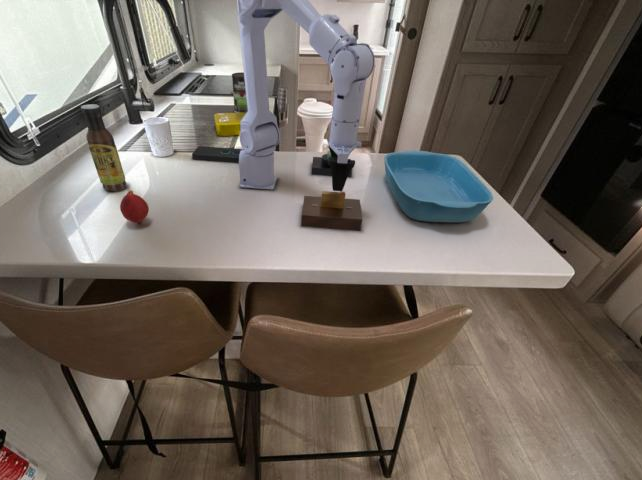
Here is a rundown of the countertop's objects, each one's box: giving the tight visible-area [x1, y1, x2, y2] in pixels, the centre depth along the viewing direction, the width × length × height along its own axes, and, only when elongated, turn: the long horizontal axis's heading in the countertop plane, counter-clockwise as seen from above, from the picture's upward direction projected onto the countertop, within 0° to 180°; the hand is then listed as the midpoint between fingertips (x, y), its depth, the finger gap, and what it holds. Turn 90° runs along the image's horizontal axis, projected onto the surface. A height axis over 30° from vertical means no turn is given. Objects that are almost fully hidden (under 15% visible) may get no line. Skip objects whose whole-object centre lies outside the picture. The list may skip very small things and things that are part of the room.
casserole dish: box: [384, 150, 494, 223], centre depth 89 cm, size 37×22×7 cm, turn 179°
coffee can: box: [231, 71, 248, 113], centre depth 145 cm, size 10×10×14 cm
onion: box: [119, 189, 150, 224], centre depth 75 cm, size 6×6×8 cm
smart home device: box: [191, 145, 244, 164], centre depth 109 cm, size 8×2×20 cm
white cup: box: [142, 116, 175, 158], centre depth 107 cm, size 8×8×10 cm
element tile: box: [213, 112, 247, 137], centre depth 129 cm, size 15×15×5 cm
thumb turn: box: [320, 190, 346, 209], centre depth 78 cm, size 6×1×4 cm, turn 84°
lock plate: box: [300, 195, 363, 232], centre depth 81 cm, size 14×10×3 cm
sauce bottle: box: [80, 103, 127, 192], centre depth 84 cm, size 6×6×20 cm
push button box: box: [310, 153, 353, 178], centre depth 102 cm, size 12×9×4 cm
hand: (337, 183), depth 77 cm, fingers open, 7 cm apart
